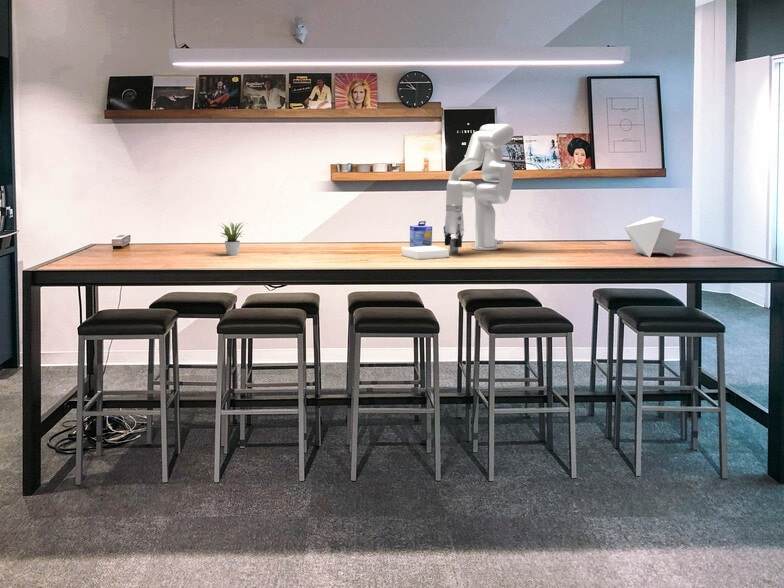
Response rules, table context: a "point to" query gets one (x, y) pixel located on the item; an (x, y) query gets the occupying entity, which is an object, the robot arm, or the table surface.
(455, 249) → the battery cell
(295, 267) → the table surface
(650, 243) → the pyramid on cube
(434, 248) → the flat white box
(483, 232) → the robot arm
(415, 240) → the ink cartridge box
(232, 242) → the house plant
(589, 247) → the table surface
